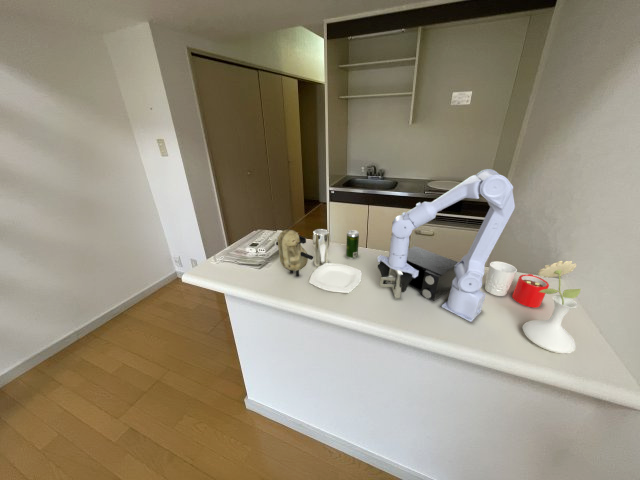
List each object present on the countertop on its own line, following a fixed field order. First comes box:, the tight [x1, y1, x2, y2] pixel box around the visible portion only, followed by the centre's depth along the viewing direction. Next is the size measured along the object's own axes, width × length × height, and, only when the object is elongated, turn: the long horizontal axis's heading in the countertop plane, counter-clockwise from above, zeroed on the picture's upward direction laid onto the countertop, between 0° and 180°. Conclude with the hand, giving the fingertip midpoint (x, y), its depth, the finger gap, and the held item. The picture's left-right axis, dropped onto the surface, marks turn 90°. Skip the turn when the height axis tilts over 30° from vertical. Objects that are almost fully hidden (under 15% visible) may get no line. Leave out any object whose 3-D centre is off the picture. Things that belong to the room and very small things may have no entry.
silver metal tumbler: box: [312, 228, 330, 268], centre depth 109 cm, size 7×7×15 cm
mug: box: [511, 273, 550, 308], centre depth 88 cm, size 8×12×8 cm, turn 152°
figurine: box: [275, 229, 314, 278], centre depth 100 cm, size 19×12×20 cm, turn 49°
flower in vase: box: [522, 260, 581, 354], centre depth 67 cm, size 13×11×25 cm
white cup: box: [484, 260, 518, 297], centre depth 91 cm, size 8×8×10 cm
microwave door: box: [379, 268, 403, 299], centre depth 93 cm, size 7×13×10 cm, turn 175°
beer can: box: [345, 229, 360, 260], centre depth 115 cm, size 5×5×12 cm
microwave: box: [402, 245, 459, 302], centre depth 96 cm, size 15×18×10 cm
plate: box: [308, 262, 363, 294], centre depth 99 cm, size 19×19×2 cm
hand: (394, 286), depth 89 cm, fingers open, 7 cm apart
